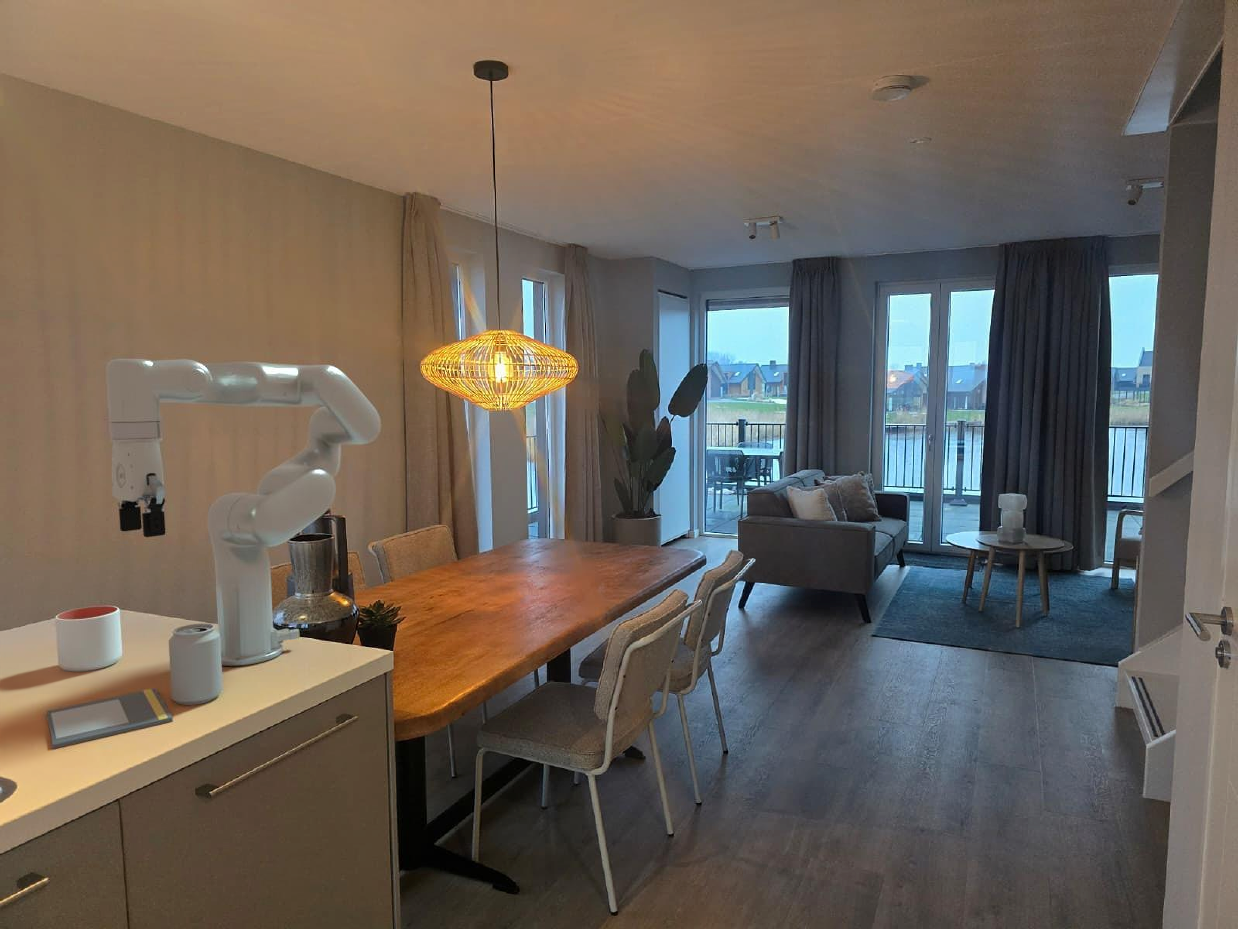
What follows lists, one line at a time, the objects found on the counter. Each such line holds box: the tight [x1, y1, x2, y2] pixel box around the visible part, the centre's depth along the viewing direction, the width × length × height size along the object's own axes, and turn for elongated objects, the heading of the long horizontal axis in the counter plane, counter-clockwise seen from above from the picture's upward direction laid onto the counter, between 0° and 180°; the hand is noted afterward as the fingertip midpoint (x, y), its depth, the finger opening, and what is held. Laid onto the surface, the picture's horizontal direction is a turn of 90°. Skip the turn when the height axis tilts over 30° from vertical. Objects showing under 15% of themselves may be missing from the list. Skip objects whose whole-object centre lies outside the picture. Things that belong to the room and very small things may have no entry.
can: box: [168, 623, 224, 706], centre depth 130 cm, size 8×8×12 cm
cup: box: [54, 605, 123, 673], centre depth 148 cm, size 10×10×10 cm
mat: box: [45, 688, 174, 749], centre depth 123 cm, size 15×16×1 cm
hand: (142, 533), depth 134 cm, fingers open, 9 cm apart
